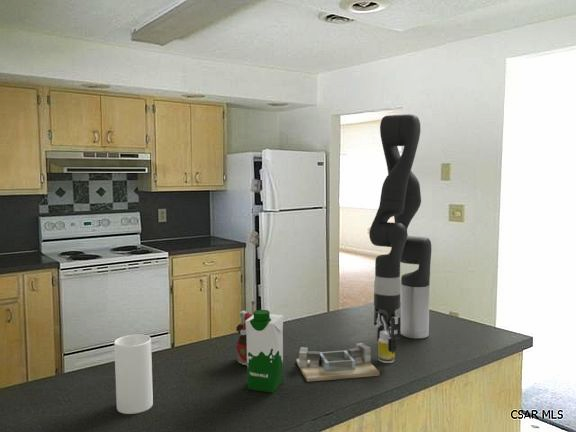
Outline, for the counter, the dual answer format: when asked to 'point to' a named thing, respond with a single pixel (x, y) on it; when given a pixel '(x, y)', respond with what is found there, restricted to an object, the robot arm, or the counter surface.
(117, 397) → the cup
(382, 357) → the supplement bottle
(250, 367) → the milk carton
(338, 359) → the shaft bench
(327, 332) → the counter surface
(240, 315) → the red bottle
